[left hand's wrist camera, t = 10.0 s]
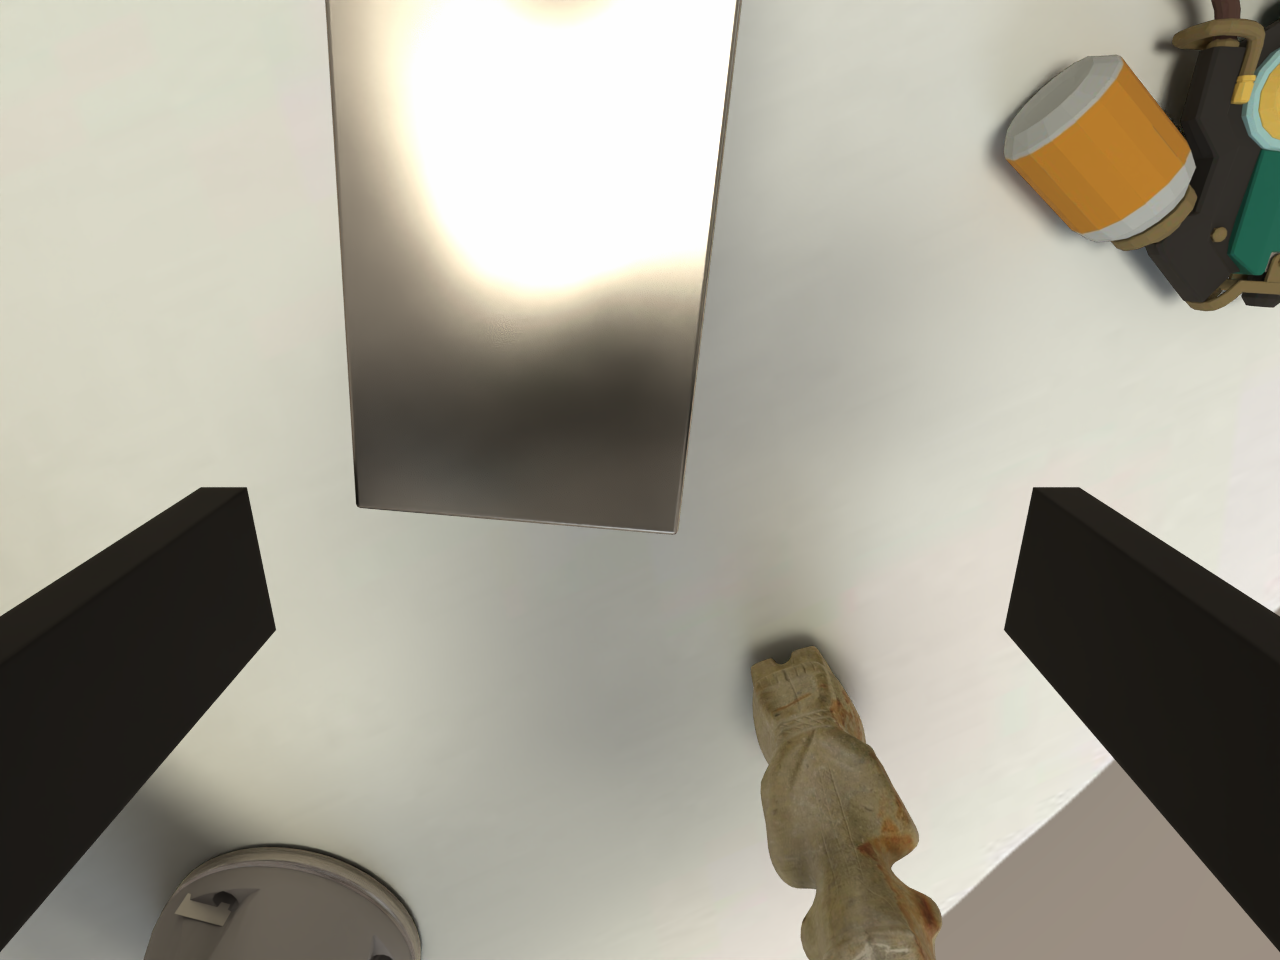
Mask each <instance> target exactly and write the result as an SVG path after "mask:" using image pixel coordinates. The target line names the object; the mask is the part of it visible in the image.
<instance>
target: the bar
mask: <svg viewBox="0 0 1280 960" xmlns="http://www.w3.org/2000/svg"><path fill="white" fill-rule="evenodd" d="M325 4H326V20H327V36H328V53H329V69H330V85H331V102H332V118H333V134H334V151H335V167H336V183H337V199H338V216H339V232H340V248H341V265H342V281H343V297H344V314H345V330H346V346H347V362H348V379H349V395H350V411H351V428H352V444H353V460H354V477H355V493H356V505H357V507H360V508H368V509H380V510H391V511H403V512H415V513H426V514H438V515H450V516H461V517H473V518H485V519H496V520H508V521H520V522H531V523H543V524H555V525H566V526H578V527H590V528H601V529H613V530H624V531H636V532H648V533H659V534H671V535H673V534H676V533H677V531H678V528H679V520H680V511H681V503H682V495H683V487H684V478H685V470H686V462H687V453H688V445H689V437H690V428H691V420H692V412H693V403H694V395H695V387H696V378H697V370H698V362H699V354H700V345H701V337H702V329H703V320H704V312H705V304H706V295H707V287H708V279H709V270H710V262H711V254H712V246H713V237H714V229H715V221H716V212H717V204H718V196H719V187H720V179H721V171H722V162H723V154H724V146H725V138H726V129H727V121H728V113H729V104H730V96H731V88H732V79H733V71H734V63H735V54H736V46H737V38H738V30H739V21H740V13H741V5H742V0H325Z"/></svg>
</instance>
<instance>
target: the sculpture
mask: <svg viewBox="0 0 1280 960" xmlns="http://www.w3.org/2000/svg"><path fill="white" fill-rule="evenodd" d="M751 676H752V681H753V686H754V690H753V718H754V724H755V730H756V735H757V739H758V742H759V745H760V748H761V750H762V753H763V755H764V757H765V759H766V761H767V763H768V764H769V766H768V768H767V770H766V772H765V774H764V776H763V779H762V781H761V799H762V806H763V811H764V816H765V822H766V830H767V840H768V849H769V854H770V858H771V861H772V864H773V866H774V868H775V870H776V872H777V873H778V875H779V876H780V878H781V879H782V880H783V881H784V882H785V883H787V884H788V885H790V886H791V887H795V888H808V889H816V896H815V899H814V902H813V905H812V906H811V908H810V910H809V911H808V913H807V914H806V916H805V918H804V919H803V922H802V926H801V941H802V945H803V949H804V951H805V953H806V956H807V957H808V959H809V960H936V958H935V939H936V936H937V935H938V933H939V931H940V930H941V926H942V917H941V913H940V910H939V908H938V906H937V905H936V903H935V902H934V901H933V900H932V899H931V898H930V897H928V896H926V895H924V894H922V893H920V892H918V891H916V890H914V889H912V888H909V887H908V886H907V885H905V884H904V883H903V882H902V881H900V880H899V879H898V878H897V877H896V876H895V874H894V873H893V872H892V870H891V867H892V865H893V864H894V863H895V862H896V861H898V860H900V859H901V858H903V857H904V856H906V855H908V854H909V853H910V852H911V851H912V850H913V849H914V848H915V847H916V846H917V844H918V842H919V834H918V831H917V828H916V826H915V824H914V822H913V821H912V819H911V817H910V815H909V813H908V811H907V810H906V808H905V806H904V804H903V802H902V800H901V799H900V797H899V795H898V794H897V792H896V790H895V788H894V787H893V785H892V783H891V781H890V779H889V777H888V775H887V773H886V771H885V769H884V767H883V765H882V764H881V762H880V761H879V759H878V758H877V757H876V754H875V752H874V750H873V749H872V748H871V747H870V746H869V745H868V744H866V740H865V734H864V729H863V725H862V722H861V719H860V717H859V715H858V713H857V711H856V709H855V707H854V705H853V703H852V701H851V700H850V698H849V696H848V695H847V693H846V691H845V690H844V688H843V687H842V685H841V684H840V682H839V681H838V679H837V678H836V677H835V676H834V674H833V673H832V671H831V669H830V668H829V666H828V664H827V663H826V661H825V660H824V658H823V657H822V655H821V653H820V652H819V650H818V649H817V648H816V647H814V646H809V647H805V648H801V649H797V650H795V651H793V652H792V654H791V658H790V659H789V661H787V662H786V663H784V664H778V663H776V662H775V661H774V660H773V659H772V658H770V659H767V660H763V661H761V662H759V663H756V664H754V665H753V666H752V667H751Z"/></svg>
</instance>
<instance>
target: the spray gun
mask: <svg viewBox="0 0 1280 960" xmlns="http://www.w3.org/2000/svg"><path fill="white" fill-rule="evenodd" d="M1211 1H1212V5H1213V8H1214V17H1215V20H1211V21H1208V22H1205V23H1201V24H1198V25H1194V26H1191V27H1189V28H1187V29H1185V30H1182V31H1180V32H1178V33H1177V34H1175V35H1174V37H1173V39H1172V44H1173V45H1174V46H1175V47H1178V48H1180V49H1194V50H1202V51H1199V55H1198V59H1197V62H1196V66H1195V70H1194V73H1193V77H1192V81H1191V84H1190V88H1189V92H1188V96H1187V99H1186V103H1185V107H1184V110H1183V114H1182V118H1181V124H1182V127H1183V130H1184V133H1185V136H1186V139H1187V141H1186V140H1185V138H1184V137H1183V136H1182V134H1181V133H1180V132H1179V131H1178V129H1177V128H1176V127H1175V125H1174V124H1173V123H1172V122H1171V120H1170V119H1169V118H1168V116H1167V115H1166V114H1165V113H1164V111H1163V110H1162V109H1161V107H1160V106H1159V105H1158V104H1157V102H1156V101H1155V100H1154V98H1153V97H1152V96H1151V95H1150V93H1149V92H1148V91H1147V89H1146V88H1145V87H1144V85H1143V84H1142V83H1141V82H1140V80H1139V79H1138V78H1137V76H1136V75H1135V74H1134V73H1133V71H1132V70H1131V69H1130V67H1129V66H1128V65H1127V64H1126V62H1125V61H1124V60H1123V58H1122V57H1121V56H1118V55H1109V56H1088V57H1086V58H1084V59H1082V60H1080V61H1078V62H1076V63H1074V64H1072V65H1071V66H1070V67H1068V68H1067V69H1065V70H1064V71H1062V72H1061V73H1060V74H1058V75H1057V76H1056V77H1054V78H1053V79H1052V80H1051V81H1050V82H1049V83H1047V84H1046V85H1045V86H1044V87H1043V88H1041V89H1040V90H1039V91H1038V92H1037V93H1036V94H1035V95H1034V96H1033V97H1032V98H1031V99H1030V100H1029V101H1028V102H1027V103H1026V104H1025V105H1024V106H1023V108H1022V109H1021V110H1020V111H1019V113H1018V114H1017V115H1016V116H1015V117H1014V119H1013V120H1012V122H1011V124H1010V126H1009V128H1008V129H1007V134H1006V140H1005V145H1004V155H1005V159H1006V160H1007V161H1008V162H1009V163H1010V164H1011V165H1012V166H1013V168H1014V169H1015V170H1016V171H1017V172H1018V173H1019V174H1020V175H1021V176H1022V177H1023V178H1024V179H1025V180H1026V181H1027V183H1028V184H1029V185H1030V186H1031V187H1032V188H1033V189H1034V190H1035V191H1036V192H1037V193H1038V194H1039V195H1040V197H1041V198H1042V199H1043V200H1044V201H1045V202H1046V203H1047V204H1048V205H1049V206H1050V207H1051V208H1052V209H1053V210H1054V212H1055V213H1056V214H1057V215H1058V216H1059V217H1060V218H1061V219H1062V220H1063V221H1064V222H1065V223H1066V224H1067V226H1068V227H1069V228H1070V229H1071V230H1072V231H1074V232H1076V233H1078V234H1079V235H1081V236H1083V237H1085V238H1087V239H1089V240H1092V241H1095V242H1104V241H1111V242H1112V243H1113V244H1114V245H1115V247H1116V248H1118V249H1121V250H1124V251H1129V250H1135V249H1139V248H1142V247H1144V246H1145V247H1146V250H1147V252H1148V255H1149V256H1150V257H1151V259H1152V260H1153V261H1154V263H1155V264H1156V265H1157V267H1158V268H1159V269H1160V271H1161V272H1162V273H1163V274H1164V276H1165V277H1166V278H1167V280H1168V281H1169V282H1170V284H1171V285H1172V286H1173V288H1174V289H1175V290H1176V291H1177V293H1178V294H1179V295H1180V297H1181V298H1182V299H1183V300H1184V301H1186V303H1187V304H1188V305H1189V306H1190V307H1191V308H1193V309H1194V310H1201V311H1213V310H1217V309H1219V308H1222V307H1224V306H1226V305H1227V304H1229V303H1230V302H1231V301H1233V300H1234V299H1235V298H1237V297H1238V296H1239V295H1240V294H1241V293H1242V292H1243V293H1242V296H1241V297H1242V299H1243V300H1244V302H1245V304H1246V305H1249V306H1259V307H1275V306H1276V305H1277V304H1279V303H1280V19H1279V20H1277V21H1275V22H1274V23H1272V24H1270V25H1269V26H1267V27H1265V28H1264V27H1263V26H1262V25H1261V24H1259V23H1258V22H1256V21H1252V20H1248V19H1240V11H1241V8H1240V1H1239V0H1211ZM1237 36H1239V37H1243V38H1246V39H1245V40H1243V41H1241V42H1240V43H1239V41H1238V40H1237ZM1187 142H1188V143H1187ZM1228 277H1229V279H1227V278H1228ZM1222 290H1226V291H1225V292H1224V293H1222V294H1221V295H1219V294H1220V293H1221V291H1222ZM1218 295H1219V296H1218ZM1217 296H1218V297H1217Z"/></svg>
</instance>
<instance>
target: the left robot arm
mask: <svg viewBox="0 0 1280 960" xmlns="http://www.w3.org/2000/svg"><path fill="white" fill-rule="evenodd" d="M275 630H276V628H275V623H274V618H273V613H272V608H271V603H270V598H269V593H268V589H267V584H266V579H265V574H264V569H263V564H262V559H261V554H260V550H259V545H258V540H257V535H256V530H255V525H254V520H253V515H252V510H251V506H250V501H249V496H248V491H247V487H201V488H199V489H198V490H196V491H195V492H193V493H191V494H190V495H188V496H187V497H185V498H184V499H182V500H181V501H179V502H177V503H176V504H174V505H173V506H171V507H170V508H168V509H167V510H165V511H163V512H162V513H160V514H159V515H157V516H156V517H154V518H153V519H151V520H149V521H148V522H146V523H145V524H143V525H142V526H140V527H139V528H137V529H135V530H134V531H132V532H131V533H129V534H128V535H126V536H125V537H123V538H121V539H120V540H118V541H117V542H115V543H114V544H112V545H111V546H109V547H107V548H106V549H104V550H103V551H101V552H100V553H98V554H97V555H95V556H94V557H92V558H90V559H89V560H87V561H86V562H84V563H83V564H81V565H80V566H78V567H76V568H75V569H73V570H72V571H70V572H69V573H67V574H66V575H64V576H62V577H61V578H59V579H58V580H56V581H55V582H53V583H52V584H50V585H48V586H47V587H45V588H44V589H42V590H41V591H39V592H38V593H36V594H34V595H33V596H31V597H30V598H28V599H27V600H25V601H24V602H22V603H20V604H19V605H17V606H16V607H14V608H13V609H11V610H10V611H8V612H6V613H5V614H3V615H2V616H0V952H1V950H2V949H3V948H4V947H5V946H6V945H7V943H8V942H9V941H10V940H11V939H12V938H13V936H14V935H15V934H16V933H17V932H18V931H19V929H20V928H21V927H22V926H23V925H24V924H25V922H26V921H27V920H28V919H29V918H30V917H31V915H32V914H33V913H34V912H35V911H36V910H37V908H38V907H39V906H40V905H41V904H42V903H43V901H44V900H45V899H46V898H47V897H48V896H49V894H50V893H51V892H52V891H53V890H54V889H55V887H56V886H57V885H58V884H59V883H60V882H61V880H62V879H63V878H64V877H65V876H66V875H67V873H68V872H69V871H70V870H71V869H72V868H73V866H74V865H75V864H76V863H77V862H78V861H79V859H80V858H81V857H82V856H83V855H84V854H85V852H86V851H87V850H88V849H89V848H90V847H91V845H92V844H93V843H94V842H95V841H96V839H97V838H98V837H99V836H100V835H101V834H102V832H103V831H104V830H105V829H106V828H107V827H108V825H109V824H110V823H111V822H112V821H113V820H114V818H115V817H116V816H117V815H118V814H119V813H120V811H121V810H122V809H123V808H124V807H125V806H126V804H127V803H128V802H129V801H130V800H131V799H132V797H133V796H134V795H135V794H136V793H137V792H138V790H139V789H140V788H141V787H142V786H143V785H144V783H145V782H146V781H147V780H148V779H149V778H150V776H151V775H152V774H153V773H154V772H155V771H156V769H157V768H158V767H159V766H160V765H161V764H162V762H163V761H164V760H165V759H166V758H167V757H168V755H169V754H170V753H171V752H172V751H173V750H174V748H175V747H176V746H177V745H178V744H179V743H180V741H181V740H182V739H183V738H184V737H185V736H186V734H187V733H188V732H189V731H190V730H191V729H192V727H193V726H194V725H195V724H196V723H197V722H198V720H199V719H200V718H201V717H202V716H203V715H204V713H205V712H206V711H207V710H208V709H209V708H210V706H211V705H212V704H213V703H214V702H215V701H216V699H217V698H218V697H219V696H220V695H221V694H222V692H223V691H224V690H225V689H226V688H227V687H228V685H229V684H230V683H231V682H232V681H233V680H234V678H235V677H236V676H237V675H238V674H239V673H240V671H241V670H242V669H243V668H244V667H245V666H246V664H247V663H248V662H249V661H250V660H251V658H252V657H253V656H254V655H255V654H256V653H257V651H258V650H259V649H260V648H261V647H262V646H263V644H264V643H265V642H266V641H267V640H268V639H269V637H270V636H271V635H272V634H273V633H274V632H275ZM1004 630H1005V632H1006V633H1007V634H1008V635H1009V636H1010V637H1011V639H1012V640H1013V641H1014V642H1015V643H1016V644H1017V646H1018V647H1019V648H1020V649H1021V650H1022V651H1023V653H1024V654H1025V655H1026V656H1027V657H1028V658H1029V660H1030V661H1031V662H1032V663H1033V664H1034V666H1035V667H1036V668H1037V669H1038V670H1039V671H1040V673H1041V674H1042V675H1043V676H1044V677H1045V678H1046V680H1047V681H1048V682H1049V683H1050V684H1051V685H1052V687H1053V688H1054V689H1055V690H1056V691H1057V692H1058V694H1059V695H1060V696H1061V697H1062V698H1063V699H1064V701H1065V702H1066V703H1067V704H1068V705H1069V706H1070V708H1071V709H1072V710H1073V711H1074V712H1075V713H1076V715H1077V716H1078V717H1079V718H1080V719H1081V720H1082V722H1083V723H1084V724H1085V725H1086V726H1087V727H1088V729H1089V730H1090V731H1091V732H1092V733H1093V734H1094V736H1095V737H1096V738H1097V739H1098V740H1099V741H1100V743H1101V744H1102V745H1103V746H1104V747H1105V748H1106V750H1107V751H1108V752H1109V753H1110V754H1111V755H1112V757H1113V758H1114V759H1115V760H1116V761H1117V762H1118V764H1119V765H1120V766H1121V767H1122V768H1123V769H1124V771H1125V772H1126V773H1127V774H1128V775H1129V776H1130V778H1131V779H1132V780H1133V781H1134V782H1135V783H1136V785H1137V786H1138V787H1139V788H1140V789H1141V790H1142V792H1143V793H1144V794H1145V795H1146V796H1147V797H1148V799H1149V800H1150V801H1151V802H1152V803H1153V804H1154V806H1155V807H1156V808H1157V809H1158V810H1159V811H1160V813H1161V814H1162V815H1163V816H1164V817H1165V818H1166V820H1167V821H1168V822H1169V823H1170V824H1171V825H1172V827H1173V828H1174V829H1175V830H1176V831H1177V832H1178V834H1179V835H1180V836H1181V837H1182V838H1183V839H1184V841H1185V842H1186V843H1187V844H1188V845H1189V847H1190V848H1191V849H1192V850H1193V851H1194V852H1195V854H1196V855H1197V856H1198V857H1199V858H1200V859H1201V861H1202V862H1203V863H1204V864H1205V865H1206V866H1207V868H1208V869H1209V870H1210V871H1211V872H1212V873H1213V875H1214V876H1215V877H1216V878H1217V879H1218V880H1219V882H1220V883H1221V884H1222V885H1223V886H1224V887H1225V889H1226V890H1227V891H1228V892H1229V893H1230V894H1231V896H1232V897H1233V898H1234V899H1235V900H1236V901H1237V903H1238V904H1239V905H1240V906H1241V907H1242V908H1243V910H1244V911H1245V912H1246V913H1247V914H1248V915H1249V917H1250V918H1251V919H1252V920H1253V921H1254V922H1255V924H1256V925H1257V926H1258V927H1259V928H1260V929H1261V931H1262V932H1263V933H1264V934H1265V935H1266V936H1267V938H1268V939H1269V940H1270V941H1271V942H1272V943H1273V945H1274V946H1275V947H1276V948H1277V949H1278V950H1279V952H1280V616H1278V615H1277V614H1275V613H1274V612H1272V611H1270V610H1269V609H1267V608H1266V607H1264V606H1263V605H1261V604H1260V603H1258V602H1256V601H1255V600H1253V599H1252V598H1250V597H1249V596H1247V595H1246V594H1244V593H1242V592H1241V591H1239V590H1238V589H1236V588H1235V587H1233V586H1232V585H1230V584H1228V583H1227V582H1225V581H1224V580H1222V579H1221V578H1219V577H1218V576H1216V575H1214V574H1213V573H1211V572H1210V571H1208V570H1207V569H1205V568H1204V567H1202V566H1200V565H1199V564H1197V563H1196V562H1194V561H1193V560H1191V559H1190V558H1188V557H1186V556H1185V555H1183V554H1182V553H1180V552H1179V551H1177V550H1176V549H1174V548H1173V547H1171V546H1169V545H1168V544H1166V543H1165V542H1163V541H1162V540H1160V539H1159V538H1157V537H1155V536H1154V535H1152V534H1151V533H1149V532H1148V531H1146V530H1145V529H1143V528H1141V527H1140V526H1138V525H1137V524H1135V523H1134V522H1132V521H1131V520H1129V519H1127V518H1126V517H1124V516H1123V515H1121V514H1120V513H1118V512H1117V511H1115V510H1113V509H1112V508H1110V507H1109V506H1107V505H1106V504H1104V503H1103V502H1101V501H1099V500H1098V499H1096V498H1095V497H1093V496H1092V495H1090V494H1089V493H1087V492H1085V491H1084V490H1082V489H1081V488H1079V487H1033V491H1032V496H1031V501H1030V506H1029V510H1028V515H1027V520H1026V525H1025V530H1024V535H1023V540H1022V545H1021V549H1020V554H1019V559H1018V564H1017V569H1016V574H1015V579H1014V584H1013V589H1012V593H1011V598H1010V603H1009V608H1008V613H1007V618H1006V623H1005V628H1004ZM420 958H421V944H420V938H419V934H418V931H417V928H416V926H415V924H414V921H413V919H412V918H411V916H410V914H409V913H408V911H407V910H406V908H405V907H404V906H403V904H402V903H401V902H400V901H399V900H398V899H397V897H396V896H395V895H394V894H393V893H392V892H390V891H389V890H388V889H387V888H386V887H385V886H384V885H382V884H381V883H380V882H378V881H377V880H376V879H374V878H373V877H371V876H370V875H368V874H366V873H365V872H363V871H361V870H359V869H357V868H356V867H354V866H351V865H349V864H347V863H345V862H343V861H340V860H337V859H335V858H332V857H329V856H326V855H322V854H319V853H315V852H310V851H306V850H300V849H293V848H283V847H259V848H249V849H242V850H237V851H233V852H229V853H226V854H223V855H220V856H217V857H215V858H213V859H210V860H208V861H207V862H205V863H203V864H201V865H200V866H198V867H197V868H196V869H194V870H193V871H192V872H191V873H190V874H189V875H187V876H186V877H185V879H184V880H183V881H182V882H181V884H180V885H179V886H178V888H177V889H176V891H175V892H174V894H173V895H172V896H171V898H170V899H169V901H168V902H167V904H166V906H165V907H164V909H163V911H162V913H161V915H160V917H159V919H158V921H157V923H156V925H155V927H154V929H153V931H152V934H151V937H150V941H149V944H148V947H147V950H146V953H145V957H144V960H420Z"/></svg>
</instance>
